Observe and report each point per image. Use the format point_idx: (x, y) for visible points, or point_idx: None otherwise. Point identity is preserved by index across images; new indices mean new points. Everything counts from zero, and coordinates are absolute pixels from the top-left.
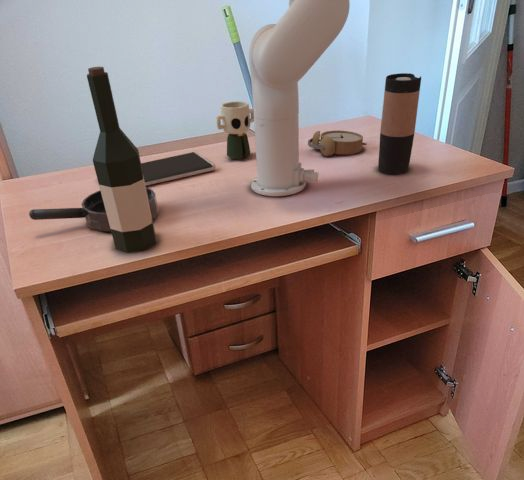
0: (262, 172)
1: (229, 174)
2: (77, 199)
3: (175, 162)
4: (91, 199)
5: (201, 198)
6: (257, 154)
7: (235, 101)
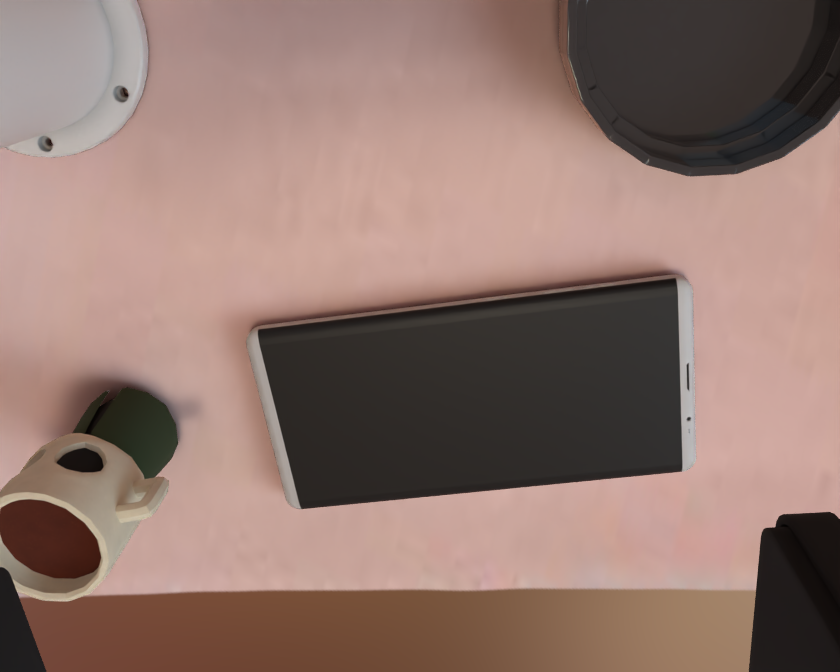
0: (71, 2)
1: (205, 268)
2: (813, 294)
3: (389, 428)
4: (816, 113)
5: (364, 68)
6: (51, 43)
7: (32, 593)
